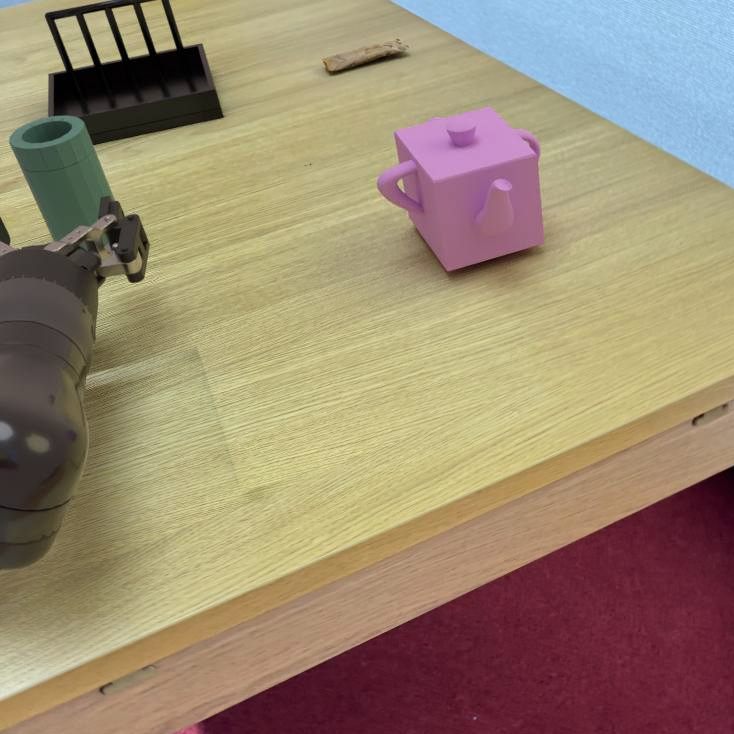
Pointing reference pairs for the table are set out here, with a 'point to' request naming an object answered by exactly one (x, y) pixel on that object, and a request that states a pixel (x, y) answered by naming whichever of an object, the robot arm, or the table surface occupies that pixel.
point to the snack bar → (363, 55)
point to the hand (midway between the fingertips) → (55, 217)
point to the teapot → (468, 186)
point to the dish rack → (131, 81)
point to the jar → (61, 172)
